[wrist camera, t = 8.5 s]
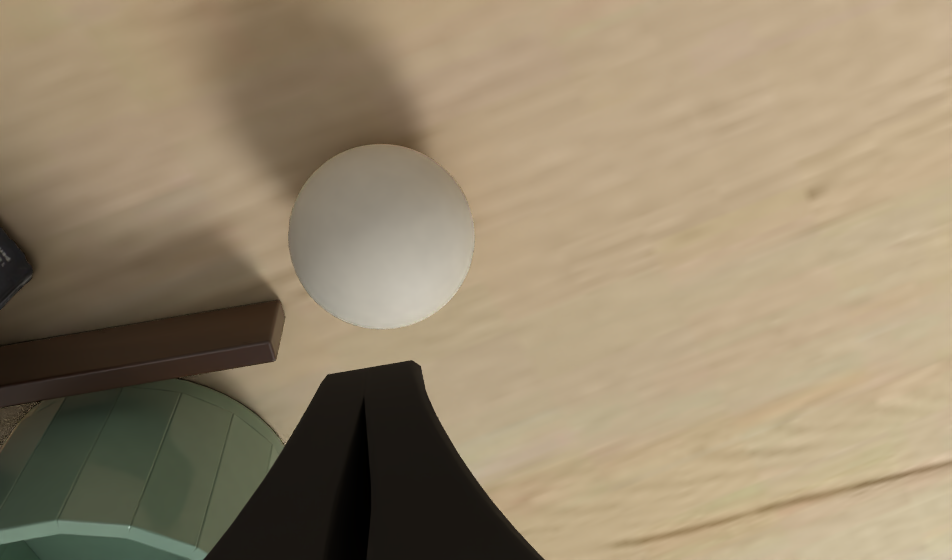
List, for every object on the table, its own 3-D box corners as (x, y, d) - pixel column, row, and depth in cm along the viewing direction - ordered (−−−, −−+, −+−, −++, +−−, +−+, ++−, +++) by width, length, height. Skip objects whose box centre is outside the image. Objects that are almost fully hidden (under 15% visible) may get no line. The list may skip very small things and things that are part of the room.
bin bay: (365, 590, 25) (364, 646, 23) (46, 647, 25) (20, 707, 23) (280, 298, 20) (270, 340, 18) (-125, 366, 19) (-175, 415, 18)
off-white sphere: (476, 262, 20) (496, 347, 16) (319, 287, 20) (304, 380, 16) (453, 107, 18) (470, 167, 14) (278, 135, 18) (252, 202, 14)
